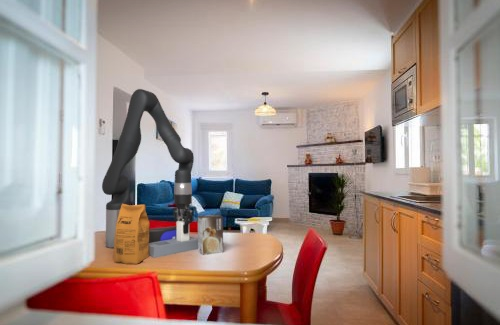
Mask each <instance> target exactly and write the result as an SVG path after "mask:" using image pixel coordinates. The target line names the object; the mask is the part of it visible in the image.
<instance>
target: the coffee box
mask: <svg viewBox="0 0 500 325" xmlns="http://www.w3.org/2000/svg"><path fill="white" fill-rule="evenodd" d="M223 221H224V220H223V215H220V214H207V215H197V239H198V249H197V252H198V253H199V254H201V255H202V256H208V255H215V254H223V253H224V229H223V228H224V226H223V225H224V222H223Z"/></svg>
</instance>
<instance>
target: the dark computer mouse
mask: <svg viewBox="0 0 500 325" xmlns="http://www.w3.org/2000/svg"><path fill="white" fill-rule="evenodd" d="M176 238H177V225H174V226H173V225H172V226H167V227H166V226H164V227H163V226H162V227H156V228H149V243H152V242H158V241H164V240H170V239H176Z"/></svg>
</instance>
